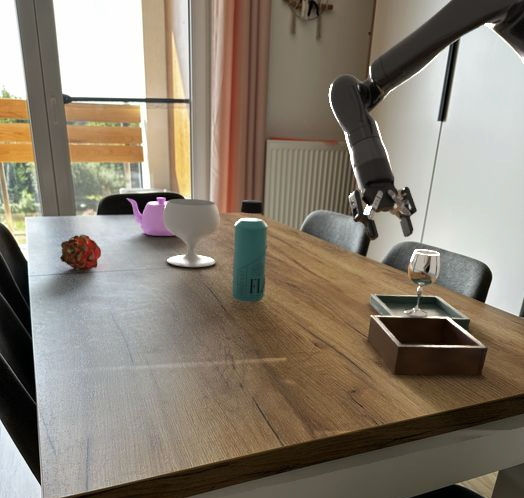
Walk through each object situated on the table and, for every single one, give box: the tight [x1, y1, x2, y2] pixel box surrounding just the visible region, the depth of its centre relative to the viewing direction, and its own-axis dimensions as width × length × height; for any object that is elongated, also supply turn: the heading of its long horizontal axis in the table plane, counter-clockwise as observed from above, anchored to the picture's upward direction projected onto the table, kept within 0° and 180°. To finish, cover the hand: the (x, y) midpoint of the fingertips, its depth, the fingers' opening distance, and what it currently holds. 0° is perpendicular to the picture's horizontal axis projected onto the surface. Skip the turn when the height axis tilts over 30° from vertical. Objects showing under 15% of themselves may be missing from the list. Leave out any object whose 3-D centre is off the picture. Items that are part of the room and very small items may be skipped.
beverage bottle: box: [231, 199, 269, 303], centre depth 98 cm, size 6×7×20 cm
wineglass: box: [404, 249, 441, 316], centre depth 99 cm, size 6×6×12 cm
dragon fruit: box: [59, 234, 102, 272], centre depth 118 cm, size 8×8×12 cm
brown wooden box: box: [367, 314, 489, 376], centre depth 81 cm, size 14×14×4 cm
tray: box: [369, 293, 471, 331], centre depth 101 cm, size 15×15×2 cm
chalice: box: [163, 198, 221, 268], centre depth 128 cm, size 14×14×15 cm
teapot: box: [125, 196, 175, 237], centre depth 162 cm, size 13×20×11 cm
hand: (392, 237), depth 106 cm, fingers open, 8 cm apart
